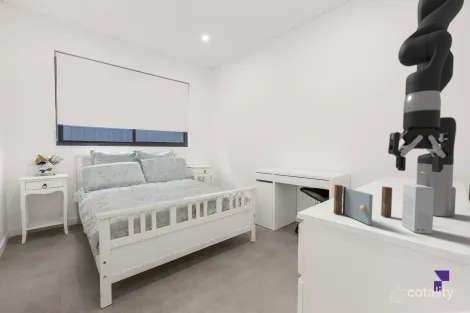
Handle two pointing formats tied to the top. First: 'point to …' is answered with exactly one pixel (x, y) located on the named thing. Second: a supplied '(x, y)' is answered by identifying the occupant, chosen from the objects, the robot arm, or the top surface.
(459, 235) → the top surface
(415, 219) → the skincare box
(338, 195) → the door frame
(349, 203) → the door
